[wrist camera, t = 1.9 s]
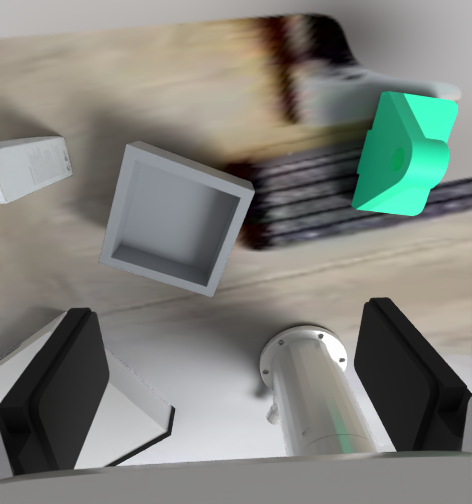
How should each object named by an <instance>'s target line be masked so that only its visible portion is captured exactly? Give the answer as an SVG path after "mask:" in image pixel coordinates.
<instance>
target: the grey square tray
mask: <svg viewBox="0 0 472 504" xmlns="http://www.w3.org/2000/svg"><path fill="white" fill-rule="evenodd" d="M254 193H255V191H254V188H253V186H252V183H251V182H249V181H246V180H243V179H241V178H238V177H235V176H233V175H230V174H227V173H225V172H222V171H219V170H217V169H214V168H211V167H209V166H206V165H203V164H201V163H198V162H195V161H193V160H190V159H187V158H185V157H182V156H179V155H177V154H174V153H171V152H168V151H166V150H163V149H160V148H158V147H155V146H152V145H150V144H147V143H144V142H142V141H135V142H132V143H129V144H126V148H125V152H124V157H123V161H122V165H121V169H120V174H119V178H118V182H117V186H116V191H115V195H114V199H113V203H112V208H111V212H110V216H109V220H108V224H107V229H106V233H105V237H104V241H103V246H102V250H101V254H100V258H99V263H100V264H104V265H107V266H110V267H114V268H117V269H120V270H123V271H127V272H130V273H133V274H137V275H140V276H143V277H147V278H150V279H153V280H157V281H160V282H163V283H166V284H170V285H173V286H176V287H180V288H183V289H186V290H190V291H193V292H196V293H199V294H203V295H206V296H209V297H213V296H214V293H215V291H216V288H217V286H218V283H219V281H220V278H221V275H222V273H223V270H224V268H225V265H226V263H227V260H228V258H229V255H230V253H231V250H232V248H233V245H234V243H235V240H236V238H237V235H238V233H239V230H240V228H241V225H242V223H243V220H244V218H245V215H246V213H247V210H248V208H249V205H250V203H251V200H252V198H253V195H254Z"/></svg>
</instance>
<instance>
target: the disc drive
mask: <svg viewBox="0 0 472 504" xmlns="http://www.w3.org/2000/svg"><path fill="white" fill-rule="evenodd" d="M66 314H67V312H66V311H65V312H64V313H63V314H61V315H60V316H58V317H57V318H56V319H54V320H53V321H51V322H50V323H49V324H47V325H46V326H44V327H43V328H42V329H40V330H39V331H37V332H36V333H35V334H33V335H32V336H31V337H29V338H28V339H26V340H25V341H24V342H22V343H21V344H19V345H18V346H17V347H15V348H14V349H12V350H11V351H10V352H8V353H7V354H5V355H4V356H3V357H1V358H0V403H1V401H2V400H3V398H4V397H5V396H6V394H7V393H8V392H9V390H10V389H11V388H12V386H13V385H14V383H15V382H16V381H17V379H18V378H19V377H20V375H21V374H22V373H23V371H24V370H25V368H26V367H27V366H28V364H29V363H30V362H31V360H32V359H33V357H34V356H35V355H36V353H37V352H38V351H39V350H40V349H41V348H42V347H43V345H44V344H45V342H46V341H47V340H48V338H49V337H50V336H51V334H52V333H53V332H54V330H55V329H56V327H57V326H58V325H59V323H60V322H61V321H62V319H63V318H64V316H65V315H66ZM104 349H105V353H106V358H107V362H108V367H109V372H110V377H109V382H108V385H107V387H106V390H105V392H104V395H103V397H102V400H101V402H100V405H99V407H98V410H97V412H96V415H95V417H94V420H93V422H92V425H91V427H90V430H89V432H88V435H87V437H86V440H85V442H84V445H83V447H82V450H81V452H80V455H79V457H78V460H77V463H76V465H75V468H74V469H86V468H99V467H113V466H116V465H118V464H120V463H122V462H124V461H125V460H127V459H129V458H131V457H133V456H134V455H136V454H138V453H140V452H141V451H143V450H145V449H147V448H149V447H150V446H152V445H154V444H156V443H158V442H159V441H161V440H163V439H165V438H167V437H168V436H170V435H171V432H172V426H173V420H174V414H175V408H174V407H173V406H172V407H171V406H170V405H169V404H168V403H167V402H166V401H164V400H163V399H162V398H161V397H160V396H159V395H158V394H157V393H156V392H154V391H153V390H152V389H151V388H150V387H149V386H148V385H147V384H146V383H144V382H143V381H142V380H141V379H140V378H139V377H138V376H137V375H136V374H135V373H133V372H132V371H131V370H130V369H129V368H128V367H127V366H126V365H125V364H123V363H122V362H121V361H120V360H119V359H118V358H117V357H116V356H115V355H113V354H112V353H111V352H110V351H109V350H108V349H107V348H106V347H105V346H104Z"/></svg>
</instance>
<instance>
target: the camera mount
mask: <svg viewBox="0 0 472 504" xmlns="http://www.w3.org/2000/svg"><path fill="white" fill-rule="evenodd" d="M457 112H458V106H457V104H456V103H455V102H454V101H451V100H445V99H438V98H431V97H425V96H418V95H411V94H405V93H398V92H392V91H386V92H382V93H381V97H380V100H379V104H378V108H377V112H376V115H375V119H374V123H373V126H372V130H368V132H367V136H366V139H365V143H364V147H363V151H362V154H361V158H360V162H359V166H358V170H357V174H360V175H359V179H358V182H357V186H356V190H355V193H354V197H353V201H352V205H351V206H352V207H354V208H355V209H359V210H368V211H376V212H385V213H393V214H401V215H410V216H415V215H417V214H419V213H420V212H421V211H422V210H423V208H424V205H425V203H426V200H427V197H428V194H429V191H430V189H431V188H433V187H434V186H436V185H437V184H438V183H439V182H440V180H441V179H442V177H443V176H444V174H445V172H446V170H447V167H448V163H449V148H448V146H447V141H448V138H449V135H450V132H451V130H452V127H453V124H454V121H455V118H456V115H457Z"/></svg>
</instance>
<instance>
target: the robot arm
mask: <svg viewBox="0 0 472 504" xmlns="http://www.w3.org/2000/svg"><path fill="white" fill-rule="evenodd" d="M259 365H260V373H261V377H262V379H263V381H264V383H265V384H266V385H267V386H268V387H269V388H270V389H271V390H272V391H274V396H275V397H274V398H273V403H274V404H273V406H271V408H270V410H269V412H268V414H267V416H266V417H267V420H268V421H269V422H270V423H271V424H277V423H278V422H279V420H280V421H281V426H282V432H283V437H284V442H285V448H286V453H287V457H271V458H252V459H234V460H215V461H197V462H180V463H163V464H146V465H130V466H113V467H99V468H86V469H74V468H75V465H76V463H77V460H78V457H79V455H80V452H81V450H82V447H83V445H84V442H85V440H86V437H87V435H88V432H89V430H90V427H91V425H92V422H93V420H94V417H95V415H96V412H97V410H98V407H99V405H100V402H101V400H102V397H103V395H104V392H105V390H106V387H107V385H108V382H109V377H110V372H109V367H108V362H107V358H106V353H105V349H104V344H103V340H102V335H101V331H100V326H99V322H98V318H97V314H96V312H92V311H91V309H90V308H71V309H70V310H69V311H68V312H67V314H66V315H65V316H64V318H63V319H62V321H61V322H60V323H59V325H58V326H57V327H56V329H55V330H54V332H53V333H52V334H51V336H50V337H49V338H48V340H47V341H46V342H45V344H44V345H43V347H42V348H41V349H40V350H39V351H38V352H37V353H36V355H35V356H34V357H33V359H32V360H31V362H30V363H29V364H28V366H27V367H26V368H25V370H24V371H23V373H22V374H21V375H20V377H19V378H18V379H17V381H16V382H15V383H14V385H13V386H12V388H11V389H10V390H9V392H8V393H7V394H6V396H5V397H4V398H3V400H2V401H1V403H0V504H472V393H471V392H470V391H469V390H468V389H467V385H466V384H465V383H464V382H463V381H462V380H461V379H460V377H459V376H458V375H457V374H456V373H455V372H454V371H453V370H452V368H451V367H450V366H449V365H448V364H447V363H446V362H445V360H444V359H443V358H442V357H441V356H440V355H439V354H438V353H437V351H436V350H435V349H434V348H433V347H432V346H431V345H430V343H429V342H428V341H427V340H426V339H425V338H424V337H423V336H422V334H421V333H420V332H419V331H418V330H417V329H416V328H415V326H414V325H413V324H412V323H411V322H410V321H409V320H408V319H407V317H406V316H405V315H404V314H403V313H402V312H401V311H400V309H399V308H398V307H397V306H396V305H395V304H394V303H393V302H392V300H391V299H390V298H387V297H384V298H371V299H370V300H369V302H366V303H365V304H364V309H363V314H362V320H361V325H360V331H359V336H358V342H357V347H356V353H355V358H354V367H355V371H356V373H357V375H358V377H359V379H360V381H361V383H362V385H363V387H364V389H365V390H366V392H367V394H368V396H369V398H370V400H371V402H372V404H373V406H374V408H375V410H376V412H377V414H378V416H379V418H380V420H381V422H382V424H383V426H384V427H385V429H386V431H387V433H388V435H389V437H390V439H391V441H392V443H393V445H394V447H395V449H396V451H397V452H381V451H380V449H379V447H378V444H377V442H376V440H375V438H374V436H373V434H372V432H371V430H370V427H369V425H368V423H367V421H366V419H365V417H364V415H363V412H362V410H361V408H360V406H359V404H358V402H357V400H356V398H355V395H354V393H353V391H352V389H351V387H350V385H349V383H348V380H347V378H346V376H345V374H344V372H345V370H346V366H347V354H346V350H345V348H344V346H343V344H342V342H341V341H340V339H339V338H338V337H337V336H336V335H335V334H333V333H332V332H330V331H328V330H326V329H324V328H321V327H316V326H298V327H293V328H290V329H287V330H285V331H283V332H281V333H279V334H277V335H276V336H275V337H273V338H272V339H271V340H270V341H269V342H268V343H267V344H266V346H265V347H264V349H263V351H262V353H261V356H260V362H259Z"/></svg>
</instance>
